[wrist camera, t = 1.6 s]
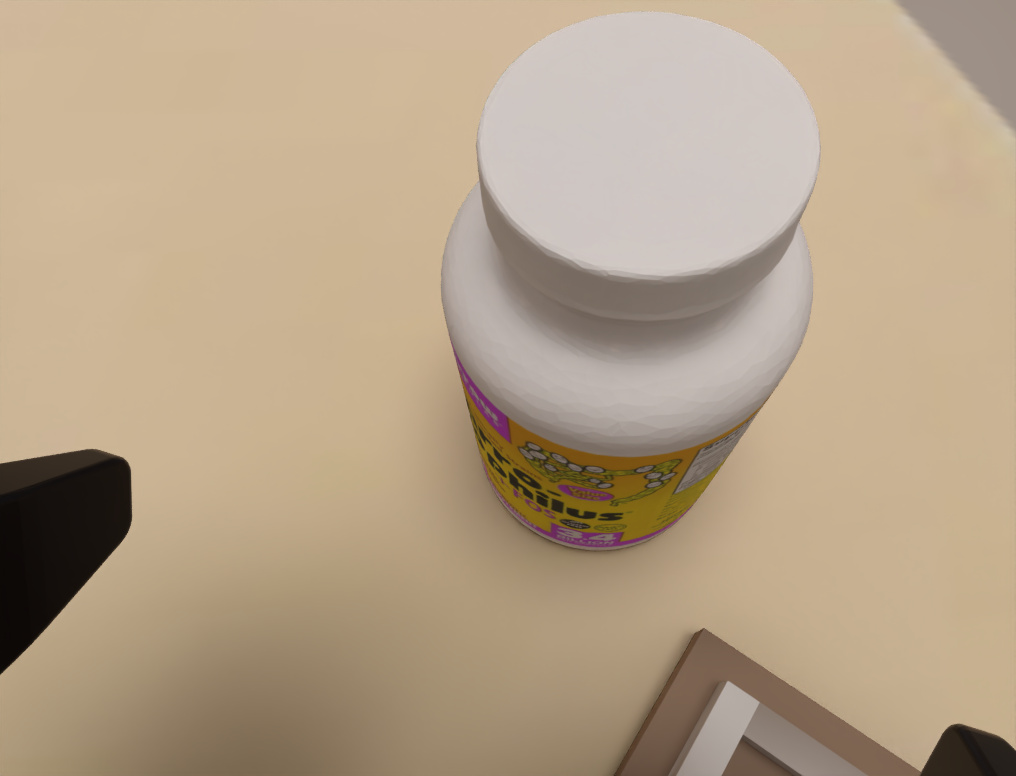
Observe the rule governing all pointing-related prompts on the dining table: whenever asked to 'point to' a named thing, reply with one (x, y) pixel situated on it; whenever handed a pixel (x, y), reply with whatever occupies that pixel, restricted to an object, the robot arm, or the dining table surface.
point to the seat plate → (746, 725)
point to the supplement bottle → (629, 269)
